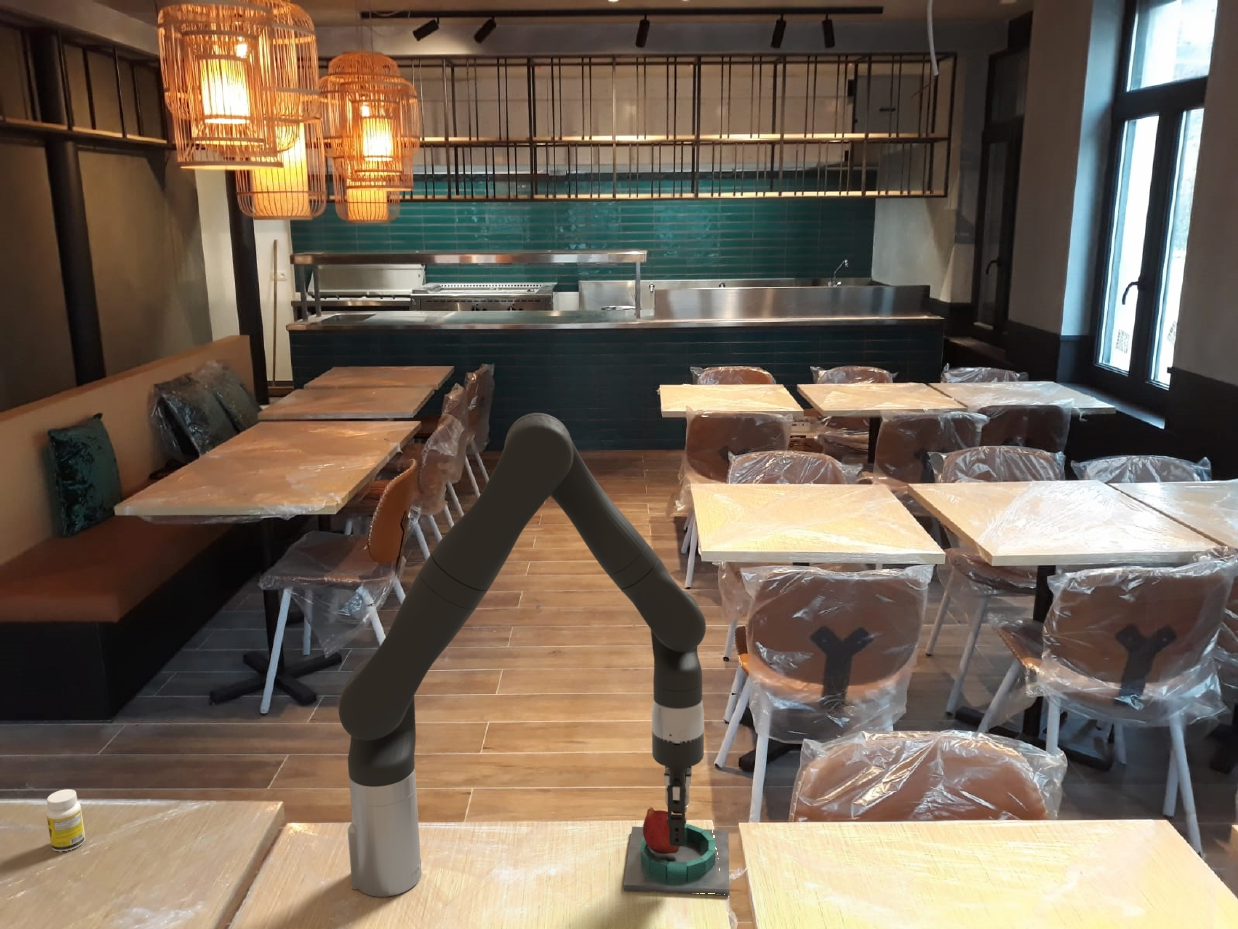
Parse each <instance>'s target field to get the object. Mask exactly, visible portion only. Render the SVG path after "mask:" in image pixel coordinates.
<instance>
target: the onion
mask: <svg viewBox="0 0 1238 929" xmlns="http://www.w3.org/2000/svg"><path fill="white" fill-rule="evenodd" d="M667 817H668V810H661V809H659V810H655V809H654V808H653V807H652V806H650V807H648V808H647V810H646V815H645V818H644V820H643V825H642V827H643V836H644V839H645V841H646V843H647V845H648V846H649V847H650V849H651V850H653V851H654V852H656V853H663V854H669V853H676V852H678V851H679V847H680V846H671V845H670V843H669V826H668V823H667Z"/></svg>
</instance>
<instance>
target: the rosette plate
mask: <svg viewBox="0 0 1238 929" xmlns="http://www.w3.org/2000/svg"><path fill="white" fill-rule="evenodd" d="M712 830H713V833H712ZM713 835H715V838H713ZM715 847H716V848H717V850H716V849H715ZM729 848H730V846H729V829H708V828H707V829H705V828H704V829H703V828H701V827H698V826H695V825H693V824H691V823H690V824H689V823H686V824H685V844H684V846H680V847H679V851H678V852H676V853H669V854H663V853H656V852H654V851H653V850H651V849H650V847H649V846H648V845H647V843H646V841H645V839H644V836H643V826H631V832H630V839H629V846H628V851H627V852H628V853H627V861H626V866H625V874H624V881H623V892H638V893H658V894H659V893H660V894H661V893H664V894H680V895H682V894H683V895H684V894H685V895H686V894H687V895H693V894H692V893H699V894H698V895H701V894H700V893H705V894H708V893H715V894H721V895H720V896H724V897H725V896H727V897H728V896H730V895H731V894H730V892H731V891H730V890H731V889H730V888H731V887H730V853H729V850H730V849H729ZM717 852H718V855H717ZM718 858H719V859H718ZM719 868H720V871H719ZM724 894H725V895H724Z"/></svg>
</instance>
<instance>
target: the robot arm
mask: <svg viewBox="0 0 1238 929" xmlns="http://www.w3.org/2000/svg"><path fill="white" fill-rule="evenodd" d="M549 497H551V498H552V499H553V501H555V502H556V503H557V505H558V506H559V507H560V508H561V510H562V511H563V512H564V514H565V515H566V516H567V518H568V519H569V521H570V522H571V523H572V525H573V526H574V528H575V529H576V531H577V532H578V534H579V536H580V537H581V538H582V540H583V541H584V543H585V545H586V546H587V548H588V550H589V551H590V552H591V554H592V555H593V557H594V558H595V560H596V561H597V563H598V564H599V565H600V566H601V568H602V570H604V571H605V573H606V574H607V576H609V578H610V579H611V580H612V581H613V582H614V584H615V585H616V586H617V587H618V589H619V590H621V592H622V593H623V594H624V595H625V596H626V598H627V599H629V600H630V602H631V603H632V604H633V606H634V607H635V608H636V609H637V611H638V613H639V614H640V616H641V617H642V619H643V620H644V622H645V623H646V625H647V626H648V627H649V629H650V636H651V637H650V639H651V644H652V645H651V646H652V653H653V654H652V656H653V661H654V662H653V702H652V708H651V709H652V710H651V735H652V736H651V743H652V744H651V749H652V750H651V754H652V758H653V760H655V762H656V763H658V764H660V766H663V767H664V773H663V784H664V785H665V796H664V797H665V798H664V799H665V800H664V803H665V806H667V812H668V817H667V823H668V826H669V843H670V845H671V846H684V844H685V824H687V817H686V813H687V807H689V806H690V787H691V786H692V775H693V774H692V772H693V771H692V770H693V767H695V766H696V765H698V764H699V763H700V762H701V761H703V759H704V757H705V756H704V755H705V711H704V704H703V672H702V665H701V663H700V659H699V656H698V654H699V653H698V646H699V645H700V644H701V643H702V642H703V640H704V638H705V635H706V630H707V624H706V619H705V616H704V614H703V612H702V610H701V609H700V607H699V604H698V603H697V601H696V599H695V598H694V597H693V596H692V595H691V594H690V593H689V592H687V591H685V590H683V589H682V588H681V587H680V586H679V584H678V583H676V581H675V580H674V579H673V577H672V576H671V575H670V574H669V570H668V569H667V567H666V566H665V563H664V562H663V561H662V559H661V558H660V556H658V554H657V553H656V552H655V551H654V549H653V548H652V547H651V546H650V545H649V543H648V541H646V539H645V538H644V537H643V536H642V535H641V534H640V533H639V531H638V530H637V528H635V526H634V525H633V524H632V523H631V521H630V520H628V519H627V517H626V516H625V515H624V514H623V512H622V511H621V510H620V509H619V508H618V507H617V505H616V504H615V503H614V501H612V500H611V498H610V497H609V495H608V494H607V493H606V492H605V490H603V488H602V487H601V485H600V484H599V483H598V480H596V478H595V477H594V476H593V474H592V472H591V471H590V470H589V468H588V467H587V465H586V464H585V462H584V460H583V458H582V457H581V455H580V453H579V451H578V450H577V447H576V446H575V443H574V442H573V440H572V437H571V435H570V432H569V430H568V429H567V427H566V426H565V425H564V423H563V422H561V421H560V420H559V419H558V418H556V417H555V416H552V415H550V414H547V413H544V412H543V413H542V412H532V413H528V414H527V413H526V414H524V415H522V416H521V417H520V418H519V417H518V418H517V420H516V421H514V422H513V424H512V425H511V426H510V428H509V429H508V432H507V434H506V436H505V441H504V446H503V450H502V453H501V456H500V457H499V459H498V462H497V464H496V466H495V468H494V470H493V472H492V474H491V476H489V479H488V481H487V482H486V484H485V486H484V488H483V490H482V491H481V493H480V495H479V496H478V497H477V499H476V500H475V502H474V503H472V506H471V507H469V509H468V510H467V511H466V512H465V513H464V514H463V515H462V516H461V517H460V518H459V519H458V520H457V521H456V522H455V523H454V524H453V525H452V526H451V527H450V529H449V530H448V531H447V532H446V533H445V535H443V536H442V538H441V539H440V540H439V541H438V543H437V544H436V546H435V547H434V549H433V550H432V551H431V553H430V554H429V556H428V557H427V559H426V561H425V562H424V564H423V565H422V566H421V568H420V570H419V571H418V573H417V575H416V576H415V578H414V580H413V582H412V583H411V585H410V587H409V588H408V590H407V593H406V595H405V597H404V599H403V600H402V602H401V605H400V606H399V609H398V611H397V613H396V615H395V617H394V619H393V621H392V624H391V626H390V629H389V631H388V632H387V634H386V636H385V638H384V639H383V641H382V642H381V644H380V645H379V647H378V648H377V650H375V652H374V653H373V655H372V656H371V657H369V658H367V659H365V660H363V661H361V662H360V663H359V664H358V665H357V666H356V667H355V668H354V669H353V671H352V673H351V674H350V676H349V677H348V679H347V681H346V684H345V685H344V686H343V689H342V691H341V693H340V696H339V700H338V716H339V721H340V723H341V725H342V727H343V729H344V730H345V731H346V733H347V734H348V735H350V743H349V750H348V756H347V769H348V779H349V780H348V782H349V791H350V792H349V793H350V794H349V795H350V805H351V818H352V819H351V820H352V822H351V823H350V825H349V826H348V828H347V839H348V840H347V841H348V851H349V864H350V865H349V867H350V878H351V889H353V890H354V889H355V890H359V891H361V892H362V893H364V894H366V895H368V896H373V897H380V898H383V897H385V898H386V897H392V896H396V895H400V894H404V893H405V892H407V891H409V890H411V889H412V888H413V887H414V886H416V884H418V883H419V881H420V880H421V877H422V858H421V844H420V828H419V812H418V810H419V809H418V798H417V797H418V795H417V794H418V793H417V781H416V779H417V778H416V767H415V766H416V765H415V764H416V763H415V752H416V740H417V739H416V738H417V733H416V732H417V731H416V730H417V729H416V726H417V725H416V706H415V705H416V703H415V702H416V701H415V694H416V693H417V691H418V689H419V687H420V686H421V684H422V682H423V680H424V679H425V677H426V675H427V674H428V671H429V670H430V668H431V667H432V666H433V665H434V663H435V662H436V660H437V659H439V656H441V654H442V653H443V652H444V651H445V649H446V648H447V647H448V646H449V644H450V643H451V642H452V641H453V640H454V638H455V637H456V635H457V634H458V633H459V632H460V630H462V627H463V626H464V625H465V624H466V623H467V621H468V620H469V618H470V617H471V616H472V614H473V613H474V611H475V610H476V609H477V607H478V606H479V605H480V603H481V601H482V600H483V599H484V597H485V595H486V594H487V592H488V591H489V589H490V588H491V587H492V584H494V581H495V580H496V578H497V576H498V575H499V573H500V571H501V569H502V568H503V567H504V564H506V561H507V560H508V558H509V556H510V554H511V553H512V551H513V549H514V547H515V544H516V543H517V540H518V539H519V537H520V535H521V534H522V532H523V531H524V529H525V528H526V526H528V523H529V522H530V521H531V519H533V517H534V515H536V513H537V512H538V511H539V509H540V508H541V507H542V506H543V505H544V503H546V501H547V500H548V499H549Z"/></svg>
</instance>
